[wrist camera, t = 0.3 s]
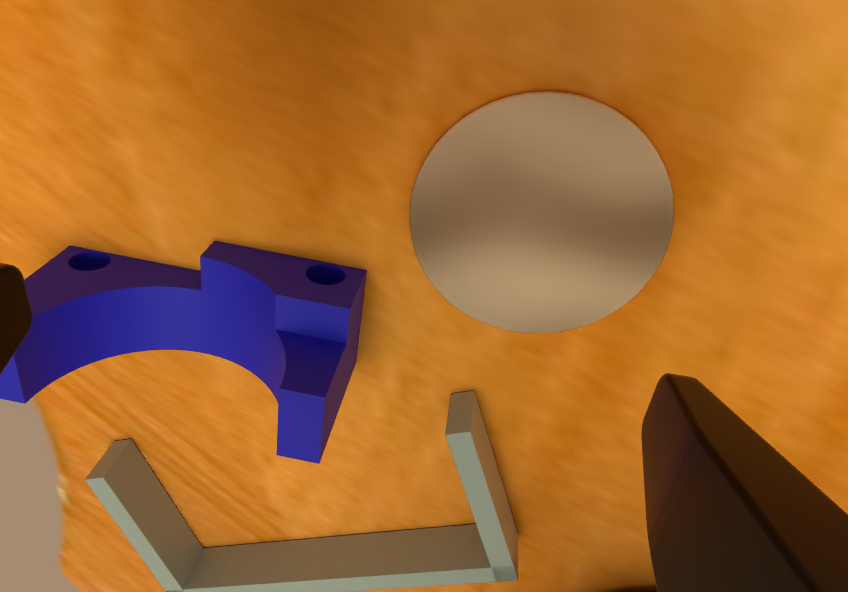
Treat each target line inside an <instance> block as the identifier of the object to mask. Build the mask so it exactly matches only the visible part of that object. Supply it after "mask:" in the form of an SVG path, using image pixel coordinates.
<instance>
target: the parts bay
mask: <svg viewBox="0 0 848 592" xmlns="http://www.w3.org/2000/svg"><path fill="white" fill-rule="evenodd" d="M445 436H446V439H447V441H448V444H449V447H450V450H451V453H452V456H453V459H454V462H455V464H456V467H457V470H458V473H459V476H460V479H461V482H462V485H463V488H464V490H465V493H466V496H467V499H468V502H469V505H470V508H471V511H472V513H473V516H474V519H475V522H476V524H470V525H459V526H447V527H436V528H425V529H414V530H402V531H391V532H380V533H368V534H357V535H346V536H335V537H323V538H312V539H301V540H289V541H278V542H267V543H256V544H244V545H233V546H222V547H210V548H203V547H202V546H201V544H200V543H199V541H198V540H197V538H196V537H195V535H194V534H193V532H192V531H191V529H190V528H189V526H188V524H187V523H186V521H185V520H184V518H183V517H182V515H181V514H180V512H179V511H178V509H177V508H176V506H175V505H174V503H173V502H172V500H171V498H170V497H169V495H168V494H167V492H166V491H165V489H164V488H163V486H162V485H161V483H160V482H159V480H158V479H157V477H156V476H155V474H154V472H153V471H152V469H151V468H150V466H149V465H148V463H147V462H146V460H145V459H144V457H143V456H142V454H141V453H140V451H139V450H138V448H137V446H136V445H135V443H134V442H133V440H132V439H126V440H119V441H114V442H113V443H112V445H111V446H110V447H109V449H108V450H107V451H106V452H105V454H104V455H103V456H102V458H101V459H100V460H99V462H98V463H97V464H96V466H95V467H94V468H93V470H92V471H91V472H90V474H89V475H88V476H87V478H86V479H85V481H86V482H87V484H88V485H89V486H90V488H91V489H92V490H93V492H94V493H95V495H96V496H97V497H98V499H99V500H100V501H101V503H102V504H103V506H104V507H105V508H106V510H107V511H108V512H109V514H110V515H111V517H112V518H113V519H114V521H115V522H116V523H117V525H118V526H119V528H120V529H121V530H122V532H123V533H124V534H125V536H126V537H127V539H128V540H129V541H130V543H131V544H132V545H133V547H134V548H135V550H136V551H137V552H138V554H139V555H140V556H141V558H142V559H143V561H144V562H145V563H146V565H147V566H148V567H149V569H150V570H151V572H152V573H153V574H154V576H155V577H156V578H157V580H158V581H159V583H160V584H161V585H162V587H163V588H164V589H165V591H166V592H350V591H365V590H381V589H396V588H411V587H426V586H442V585H457V584H472V583H487V582H503V581H518V532H517V529H516V526H515V523H514V519H513V516H512V513H511V510H510V506H509V503H508V500H507V496H506V493H505V490H504V487H503V483H502V480H501V477H500V474H499V470H498V467H497V464H496V460H495V457H494V454H493V451H492V447H491V444H490V441H489V438H488V434H487V431H486V428H485V424H484V421H483V418H482V415H481V411H480V408H479V405H478V402H477V398H476V395H475V392H474V391H467V392H460V393H453V394H451V398H450V405H449V412H448V419H447V426H446V433H445Z"/></svg>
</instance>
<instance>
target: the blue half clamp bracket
mask: <svg viewBox="0 0 848 592" xmlns="http://www.w3.org/2000/svg"><path fill="white" fill-rule="evenodd" d="M200 262H201V271H198V270H193V269H187V268H182V267H177V266H172V265H167V264H162V263H157V262H152V261H146V260H141V259H136V258H131V257H126V256H121V255H116V254H111V253H106V252H100V251H95V250H90V249H85V248H80V247H75V246H69V247H68V248H66V249H65V250H64V251H62V252H61V253H60V254H58V255H57V256H56V257H54V258H53V259H52V260H50V261H49V262H48V263H46V264H45V265H44V266H42V267H41V268H40V269H38V270H37V271H36V272H34V273H33V274H32V275H30V276H29V277H28V278H26V279H25V280H24V282H25V286H26V290H27V294H28V298H29V302H30V306H31V310H32V315H33V316H32V325H31V328H30V330H29V332H28V334H27V335H26V337H25V338H24V340H23V342H22V343H21V345H20V346H19V348H18V349H17V351H16V352H15V354H14V355H13V357H12V358H11V360H10V361H9V363H8V364H7V366H6V367H5V369H4V370H3V372H2V373H1V375H0V399H5V400H10V401H15V402H20V403H26V402H27V401H28V400H30V399H31V398H32V397H33V396H34V395H35V394H36V393H38V392H39V391H40V390H42V389H43V388H44V387H46V386H47V385H49V384H50V383H52V382H53V381H55V380H56V379H58V378H60V377H62V376H64V375H66V374H67V373H69V372H71V371H74V370H76V369H78V368H80V367H82V366H85V365H88V364H90V363H93V362H96V361H99V360H102V359H105V358H109V357H113V356H117V355H121V354H126V353H132V352H139V351H147V350H187V351H195V352H201V353H206V354H211V355H215V356H218V357H222V358H224V359H227V360H230V361H232V362H234V363H236V364H239V365H241V366H243V367H244V368H246V369H248V370H249V371H251V372H252V373H254V374H255V375H256V376H258V377H259V378H260V379H261V380H262V381H263V382H264V383H265V384H266V385H267V386H268V387H269V389H270V390H271V391H272V393H273V394H274V396H275V398H276V399H277V402H278V404H279V407H278V434H277V455H279V456H284V457H289V458H294V459H299V460H303V461H308V462H313V463H318V464H319V463H320V460H321V458H322V455H323V452H324V449H325V446H326V444H327V441H328V438H329V435H330V433H331V430H332V427H333V424H334V422H335V419H336V416H337V413H338V411H339V408H340V405H341V402H342V400H343V397H344V394H345V391H346V389H347V386H348V383H349V380H350V377H351V375H352V372H353V369H354V366H355V364H356V358H357V349H358V341H359V332H360V324H361V315H362V306H363V298H364V289H365V281H366V272H367V270H363V269H358V268H353V267H348V266H342V265H337V264H332V263H327V262H322V261H317V260H312V259H306V258H301V257H296V256H291V255H286V254H281V253H275V252H270V251H265V250H260V249H255V248H250V247H244V246H239V245H234V244H229V243H224V242H219V241H214V242H213V243H212V244H211V245H210V246H209V247H208V248H207V250H206V251H205V252H204V253H203V254H202V255H201V256H200Z"/></svg>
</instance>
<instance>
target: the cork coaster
mask: <svg viewBox="0 0 848 592" xmlns="http://www.w3.org/2000/svg"><path fill="white" fill-rule="evenodd" d="M673 220H674V198H673V193H672V187H671V182H670V179H669V176H668V174H667V171H666V168H665V166H664V164H663V162H662V160H661V158H660V156H659V154H658V152H657V151H656V149H655V147H654V146H653V145H652V143H651V142H650V140H649V139H648V138H647V136H646V135H645V134H644V133H643V132H642V131H641V130H640V129H639V128H638V127H637V126H636V125H635V124H634V123H633V122H632V121H630V120H629V119H628V118H626V117H625V116H624V115H622V114H621V113H620V112H618V111H616V110H615V109H613V108H611V107H609V106H607V105H605V104H603V103H601V102H598V101H596V100H593V99H590V98H587V97H584V96H580V95H575V94H571V93H565V92H552V91H541V92H527V93H522V94H516V95H511V96H508V97H505V98H501V99H498V100H495V101H492V102H490V103H488V104H486V105H484V106H482V107H480V108H478V109H476V110H474V111H473V112H471V113H469V114H468V115H466V116H465V117H463V118H462V119H460V120H459V121H458V122H457V123H456V124H455V125H453V126H452V127H451V128H450V129H449V130H448V131H447V132H446V133H445V134H444V135H443V136H442V137H441V138H440V139H439V141H438V142H437V143H436V144H435V146H434V147H433V149H432V150H431V151H430V153H429V154H428V156H427V158H426V160H425V162H424V164H423V166H422V168H421V170H420V172H419V174H418V177H417V180H416V183H415V186H414V189H413V194H412V199H411V204H410V230H411V238H412V242H413V246H414V250H415V253H416V255H417V258H418V260H419V263H420V265H421V267H422V269H423V270H424V272H425V274H426V276H427V278H428V279H429V280H430V282H431V283H432V284H433V286H434V287H435V288H436V289H437V290H438V292H439V293H440V294H441V295H442V296H443V297H444V298H445V299H446V300H447V301H449V302H450V303H451V304H452V305H454V306H455V307H456V308H457V309H459V310H460V311H462V312H464V313H465V314H467V315H468V316H470V317H472V318H474V319H476V320H478V321H480V322H482V323H485V324H488V325H490V326H493V327H496V328H500V329H504V330H508V331H513V332H521V333H554V332H562V331H566V330H571V329H576V328H579V327H582V326H585V325H588V324H591V323H593V322H595V321H598V320H600V319H602V318H604V317H606V316H608V315H609V314H611V313H613V312H614V311H616V310H618V309H619V308H621V307H622V306H623V305H625V304H626V303H627V302H628V301H630V300H631V299H632V298H633V297H634V296H635V295H636V294H637V293H638V292H639V291H640V290H641V289H642V288H643V287H644V286H645V285H646V284H647V282H648V281H649V280H650V279H651V277H652V276H653V275H654V273H655V271H656V270H657V268H658V266H659V265H660V263H661V261H662V259H663V257H664V254H665V252H666V250H667V247H668V244H669V241H670V237H671V233H672V228H673Z"/></svg>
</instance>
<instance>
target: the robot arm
mask: <svg viewBox="0 0 848 592" xmlns="http://www.w3.org/2000/svg"><path fill="white" fill-rule="evenodd" d="M32 316H33V315H32V310H31V306H30V302H29V298H28V294H27V290H26V286H25V282H24V278H23V275H22V273H21V271H20V270H19V269H18V268H17V267H15V266H13V265H9V264H3V263H0V375H1V373H2V372H3V370H4V369H5V367H6V366H7V364H8V363H9V361H10V360H11V358H12V357H13V355H14V354H15V352H16V351H17V349H18V348H19V346H20V345H21V343H22V342H23V340H24V338H25V337H26V335H27V334H28V332H29V330H30V328H31V325H32ZM642 452H643V469H644V486H645V504H646V520H647V532H648V541H649V547H650V554H651V559H652V565H653V570H654V576H655V581H656V587H657V592H848V514H847V513H846V512H844V511H843V510H842V509H841V508H840V507H839V506H838V505H837V504H836V503H834V502H833V501H832V500H831V499H830V498H829V497H828V496H827V495H826V494H824V493H823V492H822V491H821V490H820V489H819V488H818V487H817V486H815V485H814V484H813V483H812V482H811V481H810V480H809V479H808V478H807V477H805V476H804V475H803V474H802V473H801V472H800V471H799V470H798V469H796V468H795V467H794V466H793V465H792V464H791V463H790V462H789V461H788V460H786V459H785V458H784V457H783V456H782V455H781V454H780V453H779V452H778V451H776V450H775V449H774V448H773V447H772V446H771V445H770V444H769V443H767V442H766V441H765V440H764V439H763V438H762V437H761V436H760V435H759V434H757V433H756V432H755V431H754V430H753V429H752V428H751V427H750V426H748V425H747V424H746V423H745V422H744V421H743V420H742V419H741V418H740V417H738V416H737V415H736V414H735V413H734V412H733V411H732V410H731V409H730V408H728V407H727V406H726V405H725V404H724V403H723V402H722V401H721V400H719V399H718V398H717V397H716V396H715V395H714V394H713V393H712V392H711V391H709V390H708V389H707V388H706V387H705V386H704V385H703V384H702V383H700V382H699V381H698V380H697V379H695V378H693V377H688V376H681V375H675V374H669V373H667V374H665V375H663V376H662V377H661V378H660V380H659V381H658V383H657V386H656V389H655V391H654V394H653V396H652V399H651V401H650V404H649V407H648V409H647V412H646V414H645V417H644V420H643V424H642Z"/></svg>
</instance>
